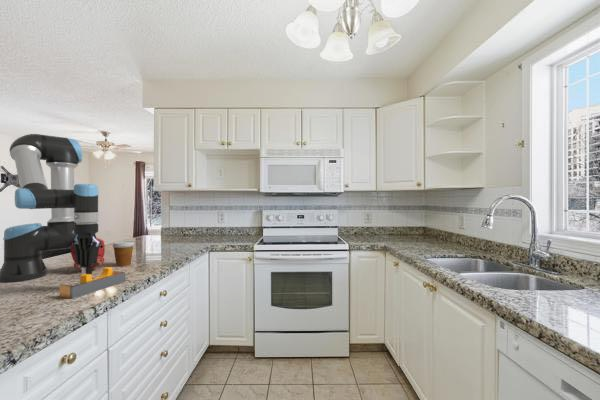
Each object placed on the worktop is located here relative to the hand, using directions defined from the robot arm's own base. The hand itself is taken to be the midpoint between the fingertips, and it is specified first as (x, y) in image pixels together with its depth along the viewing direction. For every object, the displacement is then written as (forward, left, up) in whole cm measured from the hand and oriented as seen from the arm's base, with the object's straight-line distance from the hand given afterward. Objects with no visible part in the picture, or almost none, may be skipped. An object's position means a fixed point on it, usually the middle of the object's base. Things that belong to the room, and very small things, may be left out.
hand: (86, 283), depth 106 cm
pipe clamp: (+3, +1, -2) cm, 4 cm away
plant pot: (-22, +16, +1) cm, 28 cm away
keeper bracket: (+5, 0, -2) cm, 6 cm away
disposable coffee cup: (-19, +31, -2) cm, 36 cm away
